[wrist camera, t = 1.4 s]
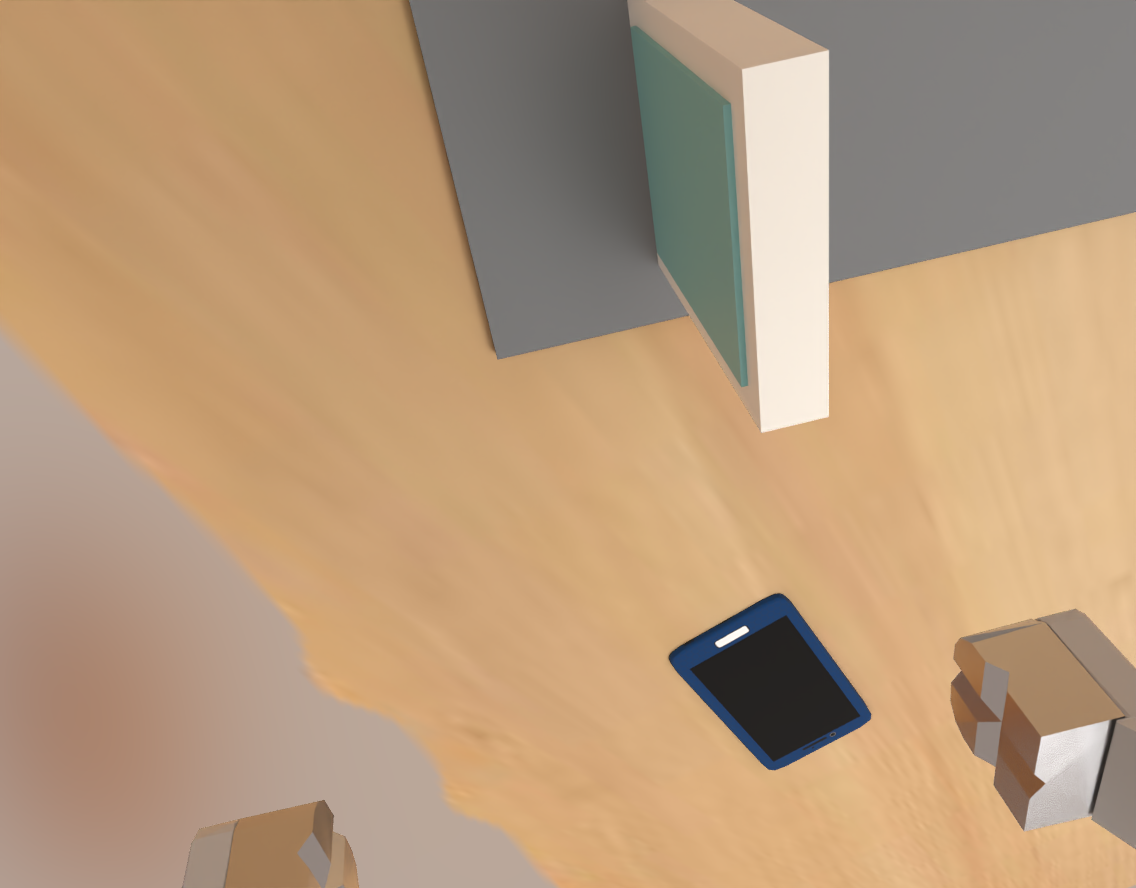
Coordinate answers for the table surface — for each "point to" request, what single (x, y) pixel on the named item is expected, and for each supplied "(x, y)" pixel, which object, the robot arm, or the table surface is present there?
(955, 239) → the mat
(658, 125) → the white picture frame
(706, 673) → the cell phone
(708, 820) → the table surface
